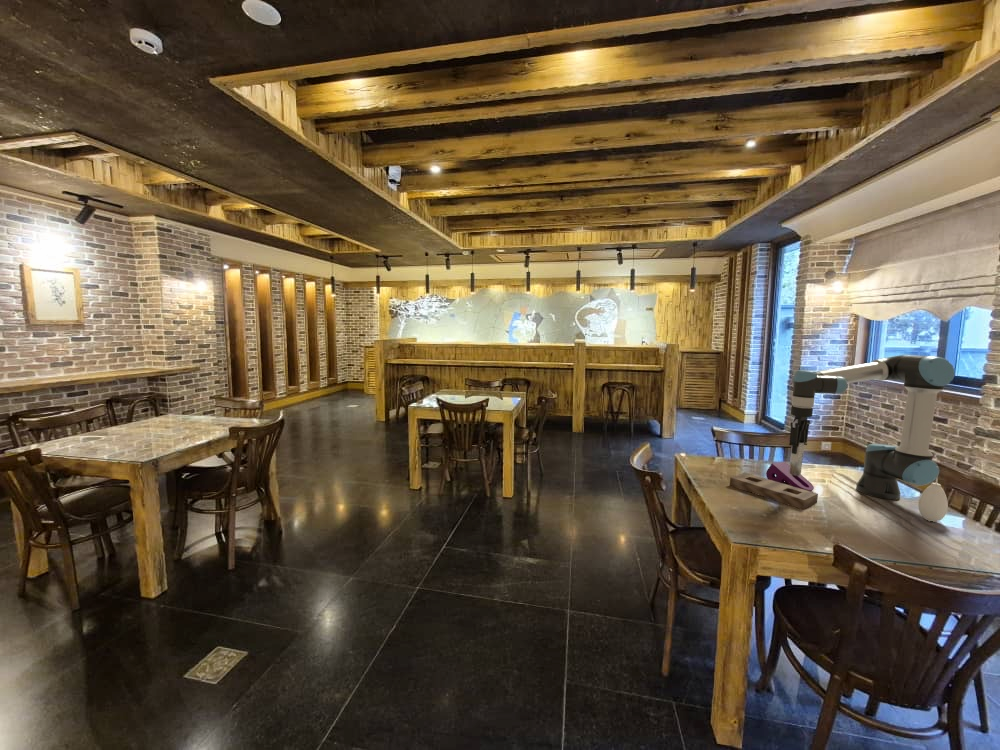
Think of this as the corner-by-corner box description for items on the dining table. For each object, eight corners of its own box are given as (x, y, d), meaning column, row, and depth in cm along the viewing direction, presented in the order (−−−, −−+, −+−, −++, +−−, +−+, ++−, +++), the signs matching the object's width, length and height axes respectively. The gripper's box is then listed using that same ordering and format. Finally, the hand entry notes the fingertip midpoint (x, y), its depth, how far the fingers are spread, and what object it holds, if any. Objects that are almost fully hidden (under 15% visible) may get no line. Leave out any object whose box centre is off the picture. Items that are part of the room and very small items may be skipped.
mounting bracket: (808, 501, 194) (776, 474, 208) (818, 489, 190) (785, 461, 204) (794, 503, 191) (763, 475, 205) (804, 491, 187) (771, 463, 201)
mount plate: (817, 502, 178) (818, 493, 177) (803, 509, 170) (804, 500, 170) (744, 480, 202) (745, 472, 202) (729, 485, 195) (730, 477, 194)
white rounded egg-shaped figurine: (912, 517, 165) (918, 474, 164) (923, 515, 168) (929, 472, 166) (938, 526, 158) (945, 481, 156) (949, 524, 161) (956, 479, 159)
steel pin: (802, 474, 178) (805, 443, 176) (798, 476, 176) (801, 444, 174) (791, 472, 181) (795, 440, 180) (787, 473, 179) (791, 442, 177)
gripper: (800, 403, 183) (795, 455, 186) (783, 406, 174) (777, 460, 176) (820, 406, 177) (814, 459, 179) (804, 409, 167) (798, 465, 170)
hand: (796, 459), depth 178 cm, fingers closed on steel pin, 4 cm apart
